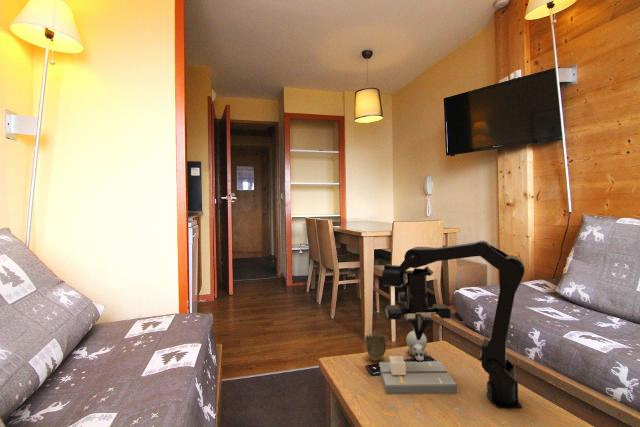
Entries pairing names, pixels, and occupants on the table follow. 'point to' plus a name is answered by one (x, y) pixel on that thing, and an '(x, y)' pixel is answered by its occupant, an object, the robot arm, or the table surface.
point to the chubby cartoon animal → (416, 345)
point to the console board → (418, 379)
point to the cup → (375, 346)
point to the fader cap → (397, 365)
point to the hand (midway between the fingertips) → (418, 339)
